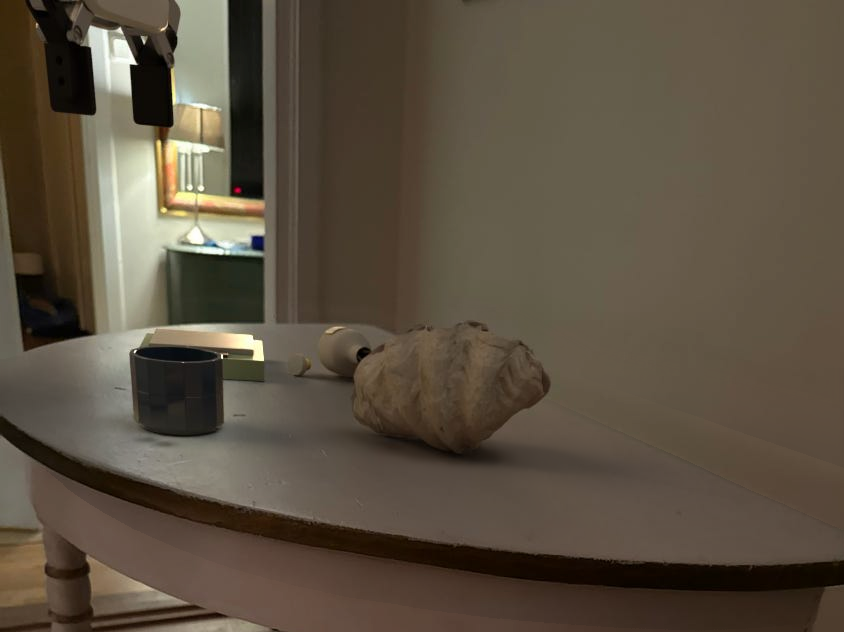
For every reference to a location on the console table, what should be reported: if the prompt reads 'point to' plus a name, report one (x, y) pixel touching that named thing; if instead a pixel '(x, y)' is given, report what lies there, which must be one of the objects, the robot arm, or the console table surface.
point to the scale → (218, 350)
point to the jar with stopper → (335, 352)
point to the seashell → (447, 385)
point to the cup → (177, 389)
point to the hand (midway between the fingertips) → (116, 120)
